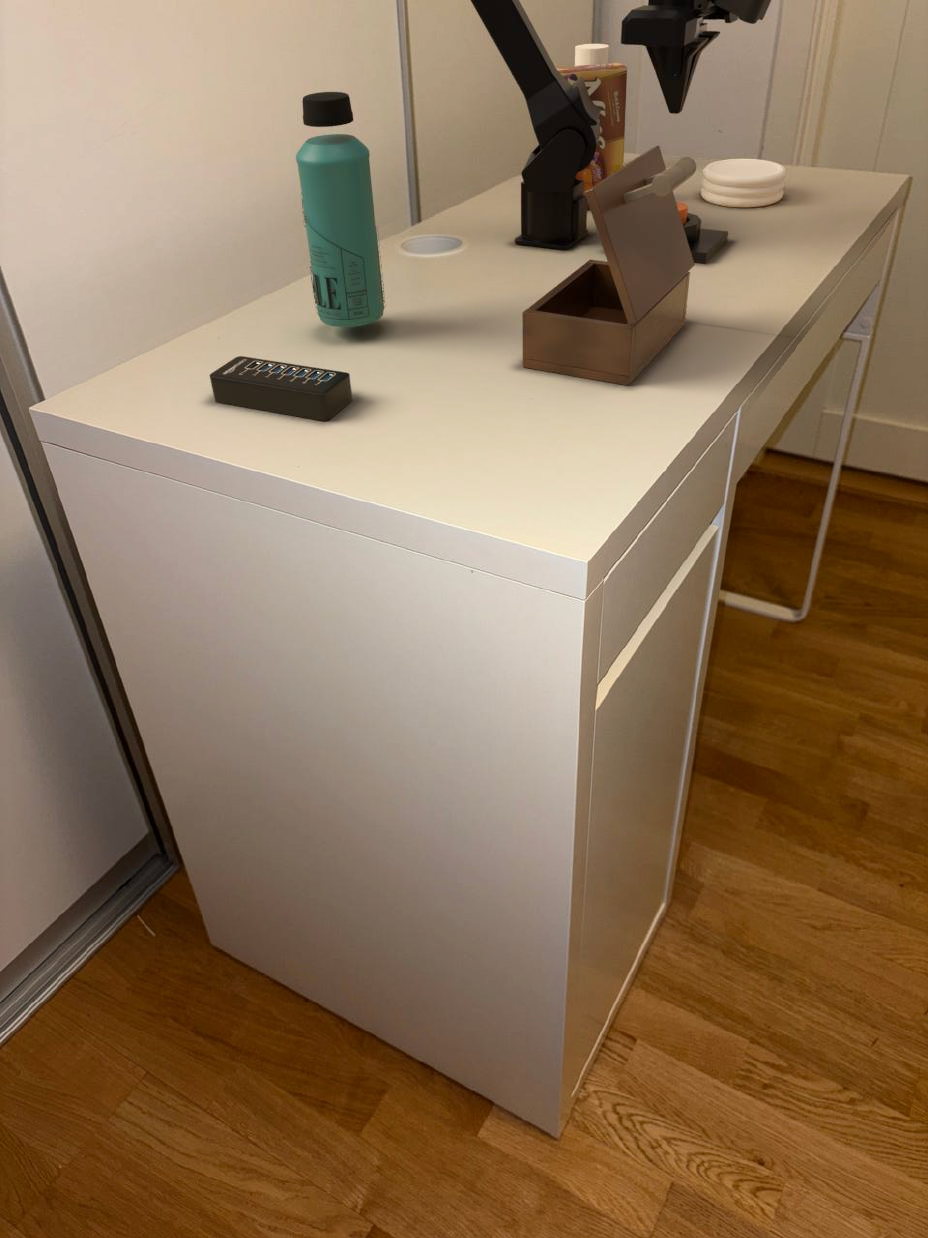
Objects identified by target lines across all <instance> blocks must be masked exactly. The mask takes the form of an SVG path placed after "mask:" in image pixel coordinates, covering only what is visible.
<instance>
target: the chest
mask: <svg viewBox="0 0 928 1238" xmlns="http://www.w3.org/2000/svg"><path fill="white" fill-rule="evenodd" d="M690 276H691V272H690V271H688V272H687V273H686V274H685V275H684V276H683V277H682V278H681V279H680V280H679V281H678V282H677V283H676V284H675V285H674V286H673V287H672V288H671V289H670V290H669V291H668V292H667V293H666V294H665V295H664V296H663V297H662V298H661V299H660V300H659V301H658V302H657V303H656V304H655V305H654V306H652V307H651V308H650V309H649V310H648V311H647V312H646V313H645V314H644V315H643V316H642V317H641V318H640V319H639V320H638V321H637V322H635V323H631V324H628V321H627V318H626V315H625V312H624V309H623V306H622V303H621V300H620V297H619V294H618V291H617V288H616V285H615V282H614V279H613V276H612V273H611V270H610V267H609V264H608V261H607V260H598V259H589V260H588V261H586V262H585V263H584V264H582V265H581V266H580V267H579V268H578V269H576V270H575V271H574V272H572V273H571V274H570V275H568V276H567V277H566V278H564V279H563V280H562V281H561V282H559V283H557V285H556V286H554V287H553V288H552V289H550V290H549V291H548V292H546V293H545V295H543V296H541V297H540V298H539V299H538V300H537V301H535V302H534V303H533V304H532V305H530V306H529V307H527V308H526V309H525V310H523V312H522V368H526V369H532V370H537V371H543V372H548V373H549V372H550V373H555V374H560V375H566V376H572V377H577V378H582V379H589V380H595V381H600V382H606V383H612V384H617V385H622V386H630V385H631V383H632V382H633V381H635V379H636V378H637V377H638V376H639V375H640V374H641V373H642V372H643V370H645V368H646V367H647V366H648V365H649V364H650V363H651V361H653V360H654V358H655V357H657V355H658V354H660V352H661V351H662V350H663V349H664V347H666V345H667V344H668V343H669V342H670V341H671V340H672V339H673V338H674V337H675V335H676V334H677V333H678V332H679V331H680V330H681V329H682V328H683V327H684V326H685V325H686V318H687V317H686V315H687V308H688V299H689V296H688V295H689V288H690V287H689V286H690V279H691V278H690Z"/></svg>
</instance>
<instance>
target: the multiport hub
mask: <svg viewBox="0 0 928 1238" xmlns="http://www.w3.org/2000/svg"><path fill="white" fill-rule="evenodd" d="M209 379H210V384H211V389H212V394H213V400H214V402H215V403H219V404H224V405H225V404H226V405H231V406H236V407H242V408H246V409H247V408H248V409H252V410H257V411H264V412H270V413H275V414H282V415H287V416H288V415H289V416H293V417H298V418H304V419H310V420H315V421H322V422H326V421H329V420H331V419H332V418H333V417H335V416H336V415H337V414H338V413H340V411H342V410H343V409H344V408H345V407H347V406H348V405H349V404H351V403H352V401H353V393H352V384H351V375H350V373H349V372H346V371H339V370H333V369H326V368H320V367H314V366H309V365H300V364H294V363H289V362H283V361H282V362H281V361H276V360H270V359H262V358H256V357H250V356H243V355H239V356H236V357H233V358H232V359H231V360H229V361H228V362H226V363H225V364H223V365H222V366H219V368H217V369H215V370H214V371H213V372H211V373H210V374H209Z"/></svg>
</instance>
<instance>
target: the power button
mask: <svg viewBox="0 0 928 1238" xmlns="http://www.w3.org/2000/svg"><path fill="white" fill-rule="evenodd" d="M676 204H677V207H678V211H679V214H680V217H681V221H682V224H684V223H686V222H687V212H688V210H689V207H688V205H687V204H685V203H683V202H677V201H676Z"/></svg>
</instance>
